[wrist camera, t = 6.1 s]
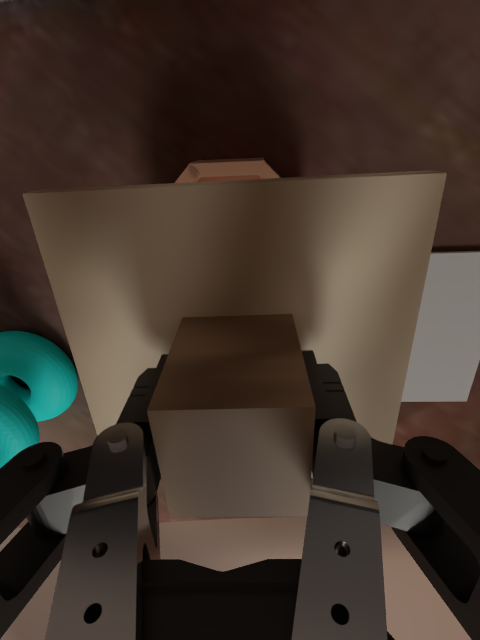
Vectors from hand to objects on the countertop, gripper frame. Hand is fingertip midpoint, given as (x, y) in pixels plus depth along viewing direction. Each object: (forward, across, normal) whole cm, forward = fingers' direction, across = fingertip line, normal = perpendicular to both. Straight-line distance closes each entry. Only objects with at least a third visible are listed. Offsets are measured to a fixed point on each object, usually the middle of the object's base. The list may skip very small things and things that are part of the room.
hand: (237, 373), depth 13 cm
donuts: (+19, +22, +12) cm, 31 cm away
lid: (+2, 0, 0) cm, 2 cm away
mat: (+18, -14, +9) cm, 24 cm away
